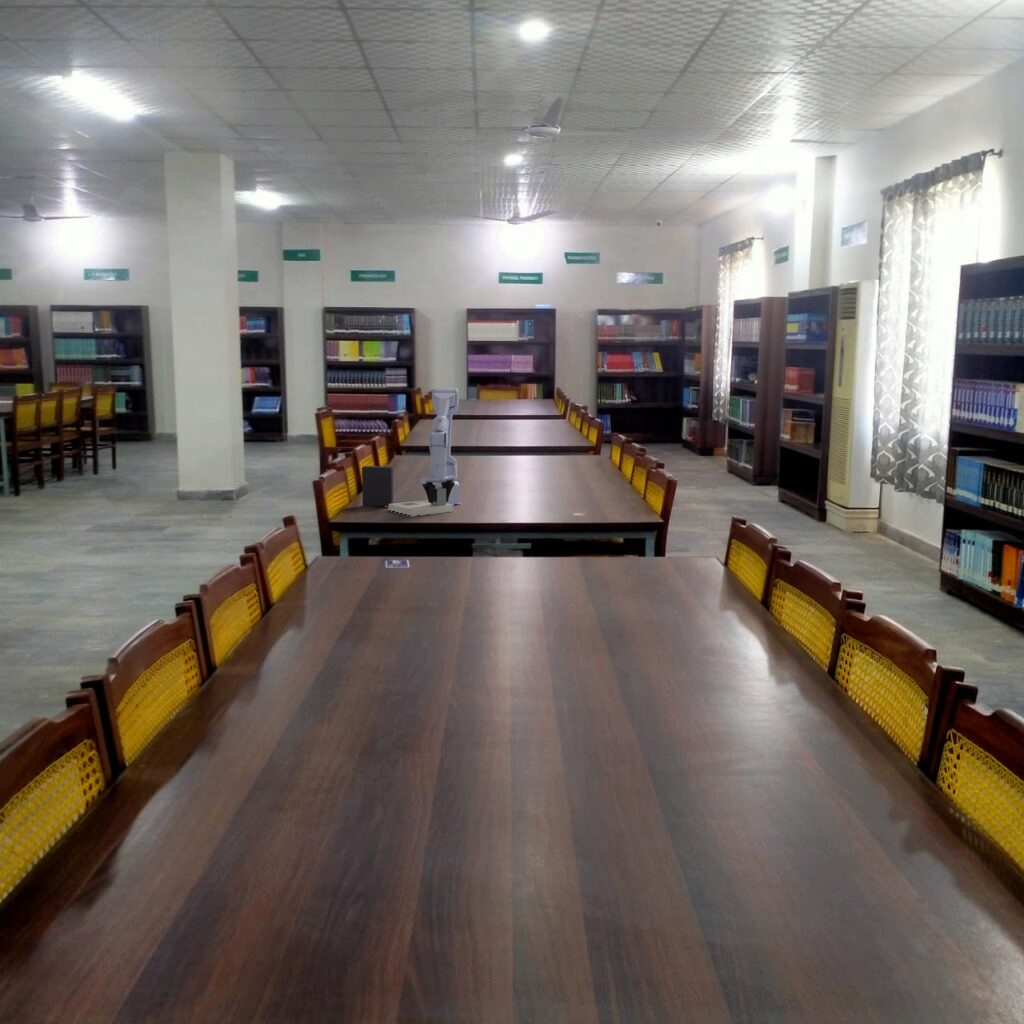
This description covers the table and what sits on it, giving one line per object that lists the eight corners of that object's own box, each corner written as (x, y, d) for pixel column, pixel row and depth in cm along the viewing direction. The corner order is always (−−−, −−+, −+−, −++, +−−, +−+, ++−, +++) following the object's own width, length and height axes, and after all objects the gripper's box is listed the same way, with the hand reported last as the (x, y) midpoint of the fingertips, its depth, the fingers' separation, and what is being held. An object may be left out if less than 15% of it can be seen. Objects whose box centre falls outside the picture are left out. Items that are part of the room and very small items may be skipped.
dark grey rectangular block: (393, 506, 363) (393, 466, 361) (391, 507, 359) (390, 467, 357) (365, 505, 364) (364, 465, 362) (362, 506, 360) (361, 466, 358)
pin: (439, 503, 355) (439, 487, 354) (446, 504, 352) (446, 488, 351) (430, 504, 352) (430, 488, 351) (437, 505, 349) (437, 489, 348)
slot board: (429, 506, 364) (429, 499, 363) (453, 511, 352) (453, 504, 352) (388, 510, 352) (388, 503, 352) (411, 516, 341) (411, 509, 341)
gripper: (428, 467, 342) (428, 505, 344) (461, 464, 351) (461, 501, 353) (417, 465, 347) (417, 502, 350) (449, 462, 357) (449, 499, 359)
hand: (438, 502), depth 352 cm, fingers open, 6 cm apart
